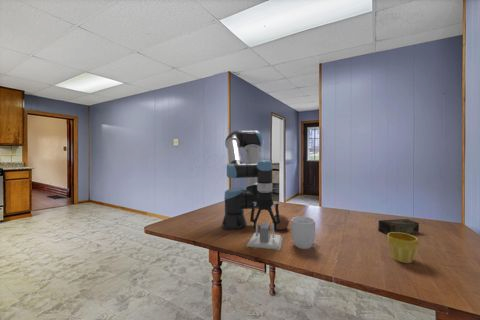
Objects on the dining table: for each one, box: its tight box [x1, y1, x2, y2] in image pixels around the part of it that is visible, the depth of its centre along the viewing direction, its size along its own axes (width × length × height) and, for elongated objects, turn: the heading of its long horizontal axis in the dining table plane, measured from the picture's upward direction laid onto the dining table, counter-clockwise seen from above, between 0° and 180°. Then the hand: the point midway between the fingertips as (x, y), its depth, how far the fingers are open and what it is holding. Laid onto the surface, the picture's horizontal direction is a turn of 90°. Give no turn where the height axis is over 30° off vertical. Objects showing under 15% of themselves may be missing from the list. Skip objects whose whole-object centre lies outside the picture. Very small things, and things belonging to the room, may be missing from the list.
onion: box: [272, 214, 290, 231], centre depth 128 cm, size 10×9×10 cm
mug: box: [290, 216, 316, 250], centre depth 106 cm, size 15×11×13 cm
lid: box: [248, 221, 282, 250], centre depth 111 cm, size 14×14×8 cm
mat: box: [246, 233, 283, 251], centre depth 111 cm, size 16×16×1 cm
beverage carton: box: [378, 218, 420, 235], centre depth 122 cm, size 8×19×7 cm, turn 99°
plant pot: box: [386, 232, 419, 264], centre depth 91 cm, size 10×10×10 cm
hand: (265, 236), depth 111 cm, fingers open, 8 cm apart
